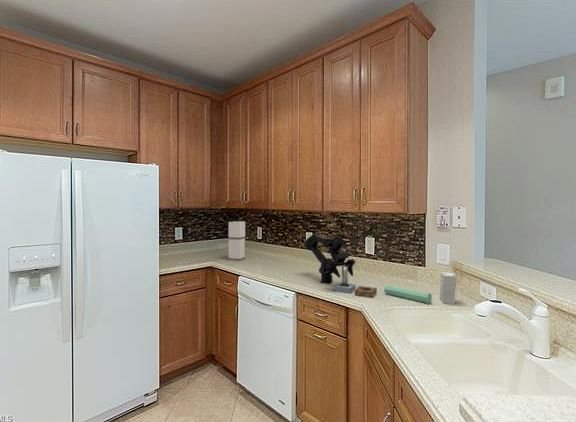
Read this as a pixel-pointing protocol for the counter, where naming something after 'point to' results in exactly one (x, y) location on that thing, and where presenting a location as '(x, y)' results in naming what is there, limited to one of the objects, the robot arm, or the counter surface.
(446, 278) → the skincare box
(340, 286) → the socket block
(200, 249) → the counter surface
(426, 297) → the green faceted rod
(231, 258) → the white square tower
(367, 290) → the brown square frame
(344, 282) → the axle
